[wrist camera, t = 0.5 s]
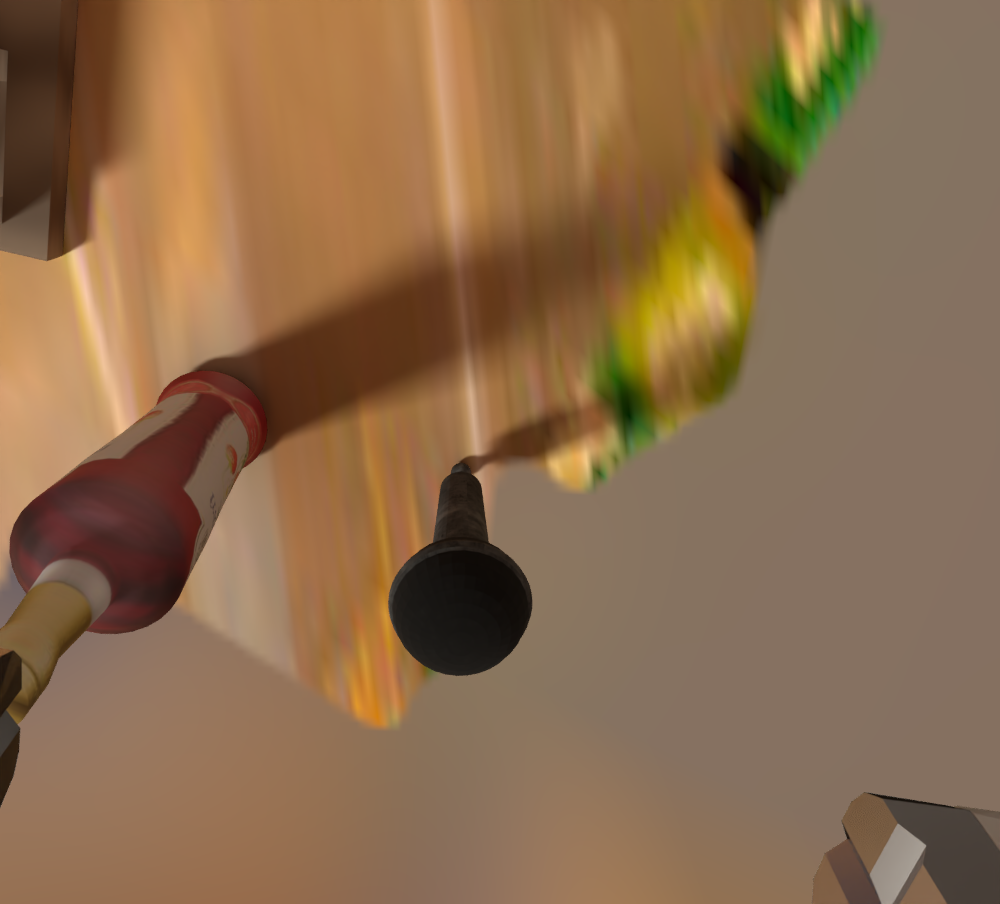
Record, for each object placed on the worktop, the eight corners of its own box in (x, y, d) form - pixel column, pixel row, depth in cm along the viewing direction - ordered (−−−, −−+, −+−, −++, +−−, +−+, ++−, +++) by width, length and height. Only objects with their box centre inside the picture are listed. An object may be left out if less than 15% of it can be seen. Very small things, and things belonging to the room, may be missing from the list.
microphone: (508, 518, 57) (530, 711, 39) (406, 512, 57) (379, 705, 38) (517, 423, 55) (545, 581, 36) (411, 416, 54) (384, 572, 36)
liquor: (186, 340, 52) (-94, 565, 26) (294, 397, 53) (134, 663, 27) (140, 436, 54) (-161, 733, 28) (245, 488, 55) (55, 814, 30)
